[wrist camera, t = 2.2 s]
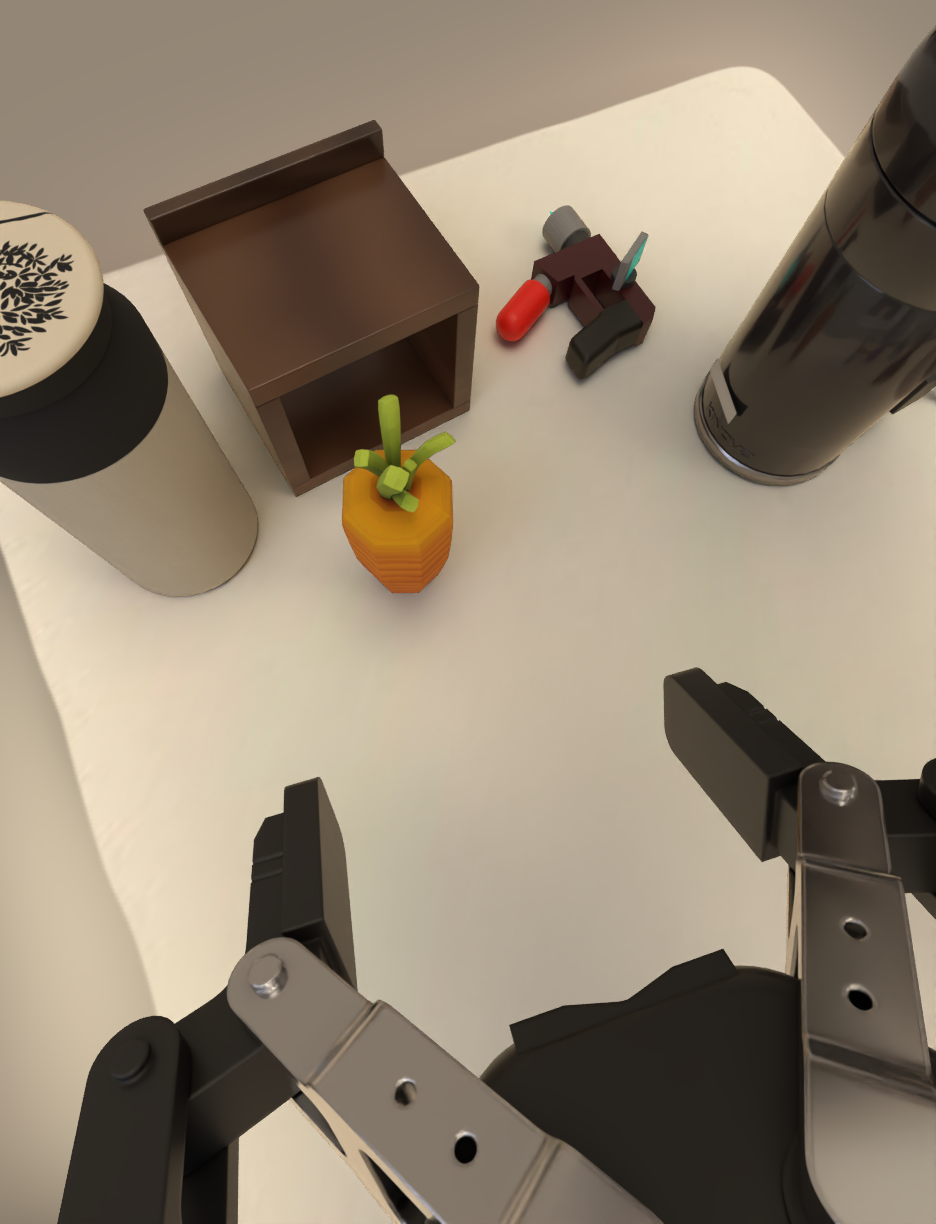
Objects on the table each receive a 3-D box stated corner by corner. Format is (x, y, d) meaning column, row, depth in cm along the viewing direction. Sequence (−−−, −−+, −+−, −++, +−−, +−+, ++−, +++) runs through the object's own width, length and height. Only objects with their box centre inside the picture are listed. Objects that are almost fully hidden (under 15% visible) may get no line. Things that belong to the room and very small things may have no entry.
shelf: (390, 296, 42) (374, 118, 31) (469, 410, 40) (482, 261, 29) (222, 371, 40) (142, 208, 29) (296, 497, 38) (238, 371, 27)
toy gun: (567, 218, 45) (582, 151, 40) (664, 346, 42) (692, 288, 37) (446, 269, 43) (447, 204, 38) (538, 405, 40) (551, 352, 36)
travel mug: (266, 585, 36) (111, 382, 19) (119, 609, 35) (-182, 421, 18) (251, 461, 38) (102, 178, 21) (113, 481, 37) (-160, 204, 20)
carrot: (385, 531, 37) (352, 358, 23) (464, 560, 37) (481, 405, 23) (350, 606, 36) (291, 472, 22) (432, 638, 36) (429, 523, 21)
